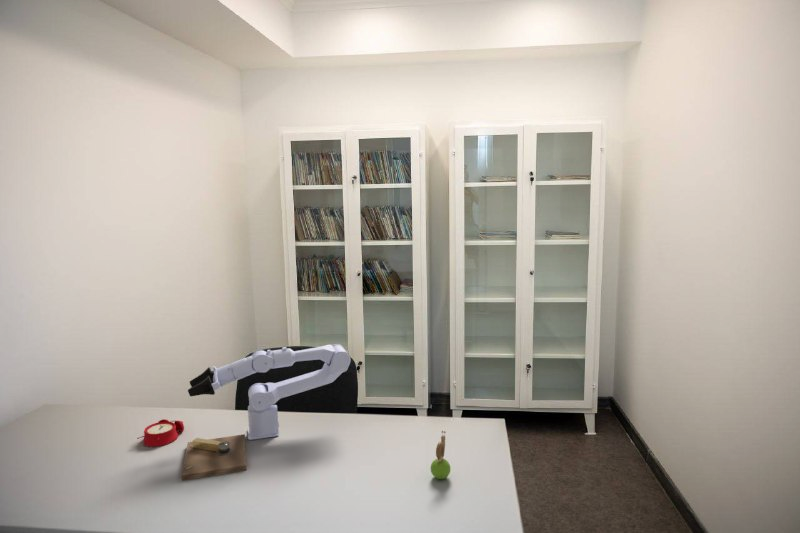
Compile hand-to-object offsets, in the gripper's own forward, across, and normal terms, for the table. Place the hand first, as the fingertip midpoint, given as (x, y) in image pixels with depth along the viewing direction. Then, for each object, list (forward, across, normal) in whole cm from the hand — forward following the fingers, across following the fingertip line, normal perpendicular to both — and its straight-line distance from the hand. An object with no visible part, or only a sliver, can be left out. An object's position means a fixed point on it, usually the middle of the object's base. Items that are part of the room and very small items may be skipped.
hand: (189, 388), depth 164 cm
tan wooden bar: (-1, +9, +17) cm, 20 cm away
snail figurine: (-58, +43, +37) cm, 81 cm away
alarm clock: (+14, -9, +15) cm, 22 cm away
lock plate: (-1, +12, +19) cm, 23 cm away
